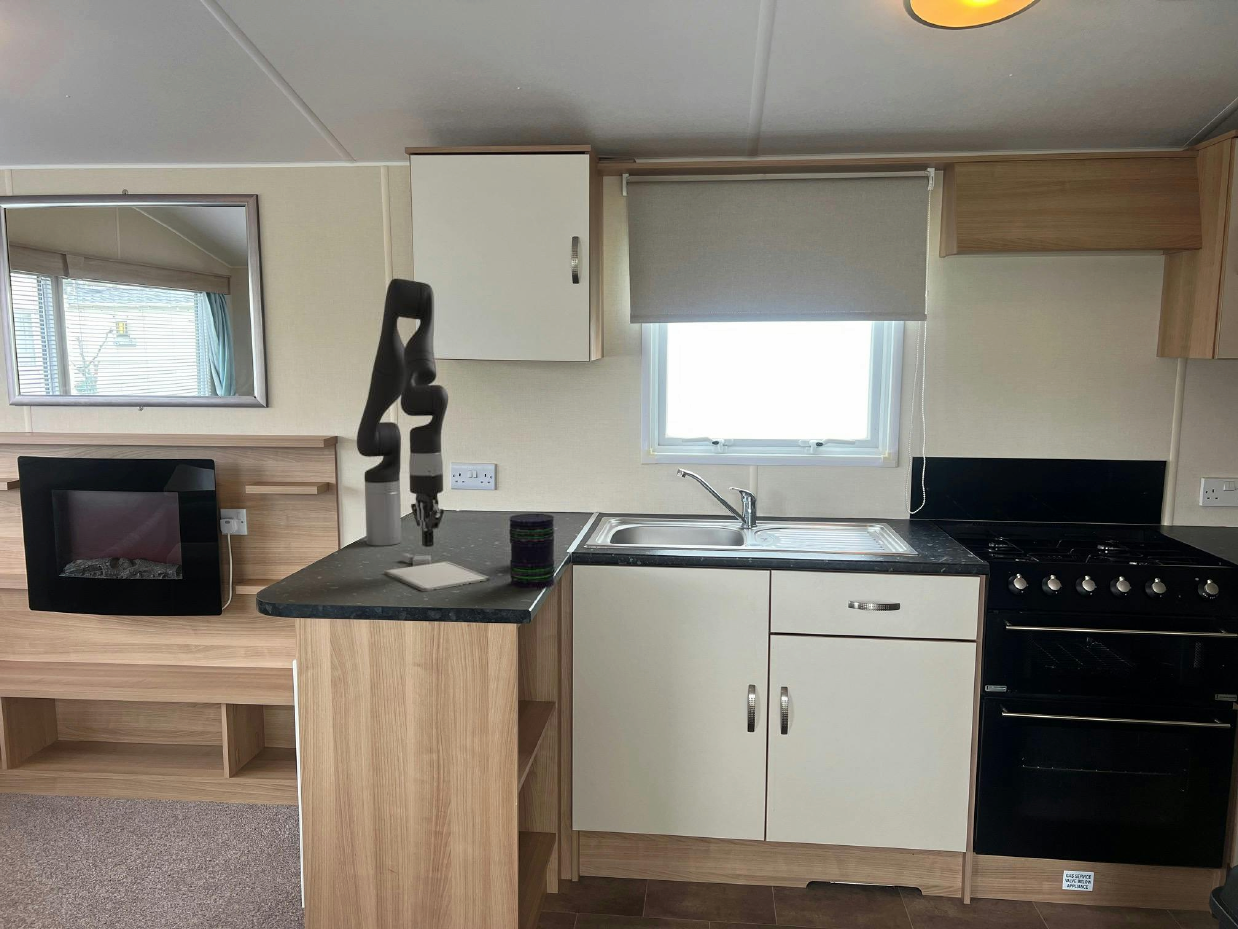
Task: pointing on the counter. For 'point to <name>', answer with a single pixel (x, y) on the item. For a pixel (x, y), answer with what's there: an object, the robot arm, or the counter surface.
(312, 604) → the counter surface
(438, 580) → the mat
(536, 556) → the storage jar
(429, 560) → the lighter
